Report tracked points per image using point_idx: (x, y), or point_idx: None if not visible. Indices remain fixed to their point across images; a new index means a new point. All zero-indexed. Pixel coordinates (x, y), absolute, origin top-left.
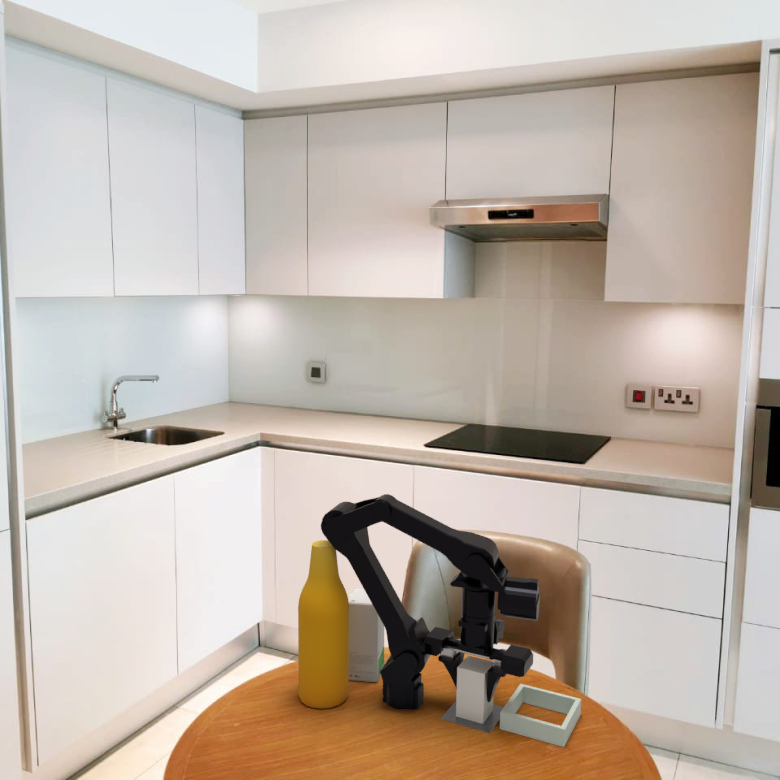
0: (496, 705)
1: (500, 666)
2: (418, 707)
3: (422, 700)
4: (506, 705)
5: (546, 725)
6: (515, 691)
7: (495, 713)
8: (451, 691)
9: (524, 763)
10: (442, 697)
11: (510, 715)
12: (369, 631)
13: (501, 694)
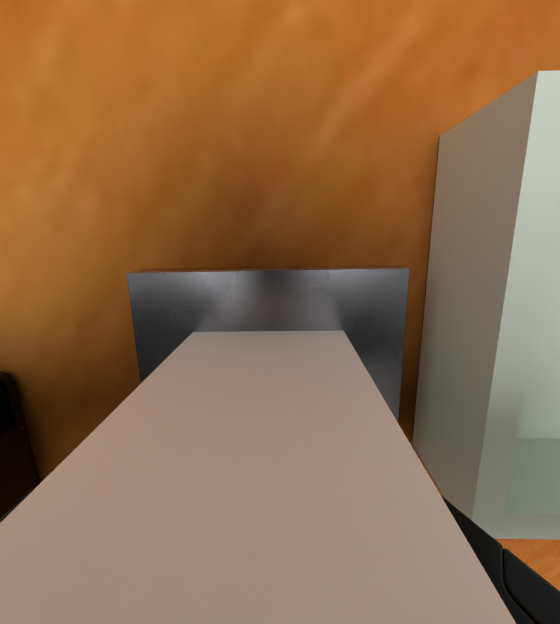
0: (345, 274)
1: None
2: (26, 483)
3: (5, 453)
4: (490, 458)
5: None
6: (516, 240)
7: (365, 353)
8: (55, 203)
9: (547, 562)
10: (53, 286)
11: (533, 535)
12: None
13: (309, 76)
